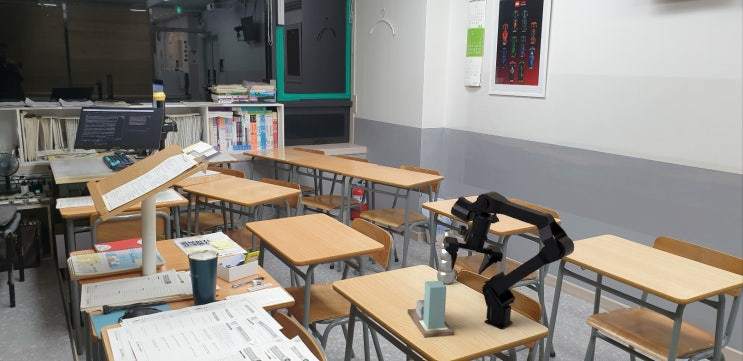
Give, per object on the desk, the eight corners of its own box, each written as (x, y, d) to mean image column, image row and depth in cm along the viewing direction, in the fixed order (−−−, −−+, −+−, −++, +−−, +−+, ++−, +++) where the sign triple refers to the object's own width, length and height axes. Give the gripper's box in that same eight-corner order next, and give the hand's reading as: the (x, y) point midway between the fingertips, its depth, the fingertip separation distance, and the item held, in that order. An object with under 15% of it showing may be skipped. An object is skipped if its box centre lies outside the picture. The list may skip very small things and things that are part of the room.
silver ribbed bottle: (433, 280, 200) (436, 229, 196) (449, 278, 202) (452, 227, 199) (441, 286, 194) (444, 234, 190) (457, 284, 196) (461, 232, 193)
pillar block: (438, 320, 163) (440, 280, 161) (444, 327, 159) (446, 286, 156) (423, 321, 162) (425, 281, 160) (428, 329, 158) (430, 287, 155)
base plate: (433, 310, 173) (434, 295, 172) (453, 335, 157) (454, 318, 156) (407, 312, 171) (408, 297, 170) (424, 337, 155) (425, 320, 154)
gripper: (501, 223, 175) (487, 263, 180) (447, 212, 173) (434, 253, 178) (510, 239, 164) (495, 281, 170) (452, 228, 162) (439, 271, 168)
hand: (465, 271), depth 172 cm, fingers open, 9 cm apart
